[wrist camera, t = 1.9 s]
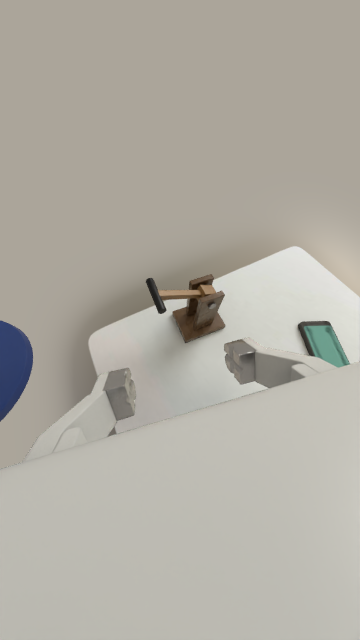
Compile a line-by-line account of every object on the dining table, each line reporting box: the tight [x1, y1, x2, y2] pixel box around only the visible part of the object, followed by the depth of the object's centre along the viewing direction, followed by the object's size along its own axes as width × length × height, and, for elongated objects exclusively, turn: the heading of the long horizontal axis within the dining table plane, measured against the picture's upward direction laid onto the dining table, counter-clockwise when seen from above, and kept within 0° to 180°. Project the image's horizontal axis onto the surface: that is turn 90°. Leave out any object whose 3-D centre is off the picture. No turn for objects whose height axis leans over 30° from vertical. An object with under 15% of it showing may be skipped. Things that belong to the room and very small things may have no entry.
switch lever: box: [146, 278, 216, 314], centre depth 28 cm, size 12×6×2 cm, turn 112°
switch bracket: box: [173, 275, 225, 343], centre depth 35 cm, size 10×8×13 cm
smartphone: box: [298, 321, 350, 368], centre depth 37 cm, size 7×1×15 cm
